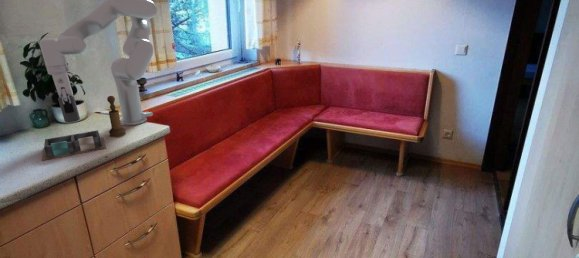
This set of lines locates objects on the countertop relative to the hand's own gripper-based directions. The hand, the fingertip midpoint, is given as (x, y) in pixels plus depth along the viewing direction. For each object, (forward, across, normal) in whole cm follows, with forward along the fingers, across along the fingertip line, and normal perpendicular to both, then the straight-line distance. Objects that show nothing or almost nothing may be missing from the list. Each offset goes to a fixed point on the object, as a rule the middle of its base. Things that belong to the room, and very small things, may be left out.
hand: (69, 110), depth 149 cm
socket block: (+13, -14, +1) cm, 19 cm away
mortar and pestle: (+13, -6, -16) cm, 22 cm away
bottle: (+5, 0, 0) cm, 5 cm away
